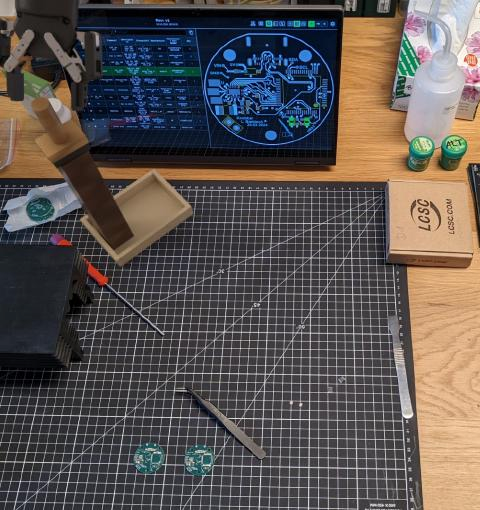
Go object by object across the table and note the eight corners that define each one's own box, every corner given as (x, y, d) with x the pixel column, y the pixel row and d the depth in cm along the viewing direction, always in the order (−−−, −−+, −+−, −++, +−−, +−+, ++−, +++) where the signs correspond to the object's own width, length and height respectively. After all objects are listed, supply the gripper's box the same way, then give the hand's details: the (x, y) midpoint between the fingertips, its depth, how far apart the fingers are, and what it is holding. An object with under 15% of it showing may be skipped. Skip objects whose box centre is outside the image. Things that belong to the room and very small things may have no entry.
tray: (121, 269, 113) (116, 260, 110) (85, 228, 116) (79, 219, 113) (194, 216, 118) (191, 206, 115) (158, 178, 122) (154, 168, 119)
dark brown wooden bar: (113, 250, 113) (62, 168, 90) (99, 234, 115) (45, 149, 91) (134, 236, 115) (88, 151, 92) (120, 220, 116) (71, 133, 93)
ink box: (67, 114, 128) (42, 67, 116) (54, 128, 127) (27, 81, 115) (40, 101, 130) (12, 54, 118) (27, 115, 128) (-2, 68, 116)
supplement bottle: (87, 130, 127) (70, 98, 118) (74, 151, 124) (57, 119, 116) (63, 124, 127) (45, 91, 119) (50, 144, 125) (30, 112, 116)
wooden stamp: (56, 170, 90) (26, 124, 81) (42, 153, 91) (12, 105, 82) (92, 149, 92) (67, 101, 82) (78, 132, 93) (52, 83, 84)
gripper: (-25, -35, 76) (-21, 99, 81) (86, -19, 75) (84, 116, 80) (11, -27, 83) (13, 96, 88) (113, -12, 82) (110, 111, 87)
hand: (47, 105), depth 84 cm, fingers open, 8 cm apart
